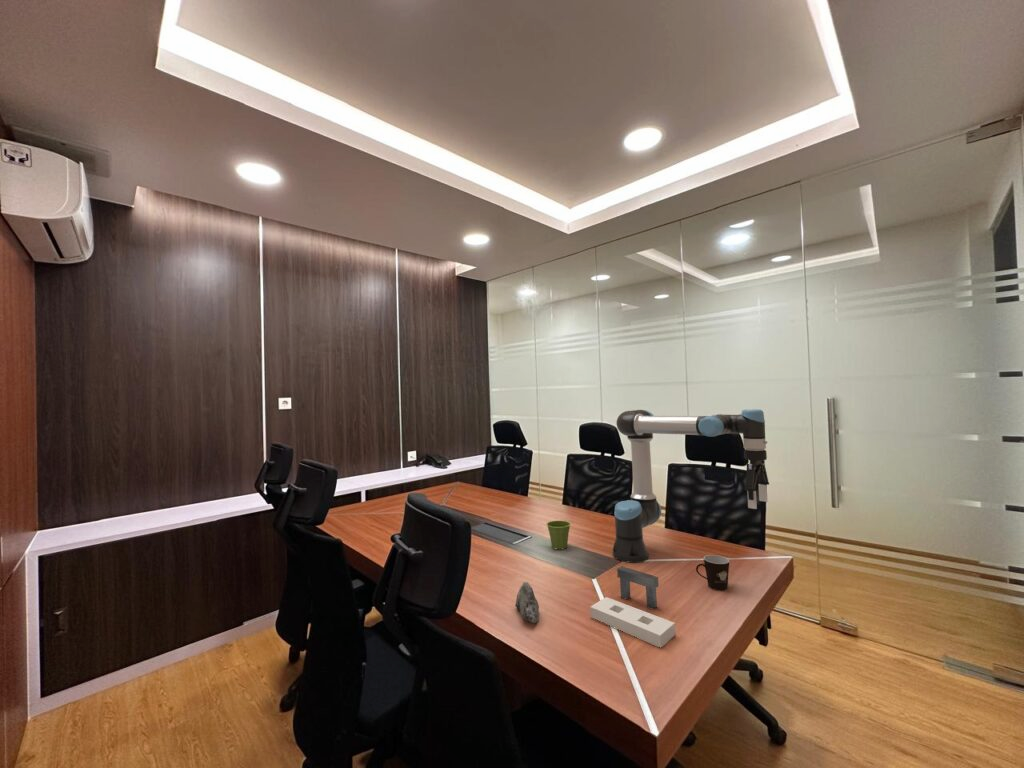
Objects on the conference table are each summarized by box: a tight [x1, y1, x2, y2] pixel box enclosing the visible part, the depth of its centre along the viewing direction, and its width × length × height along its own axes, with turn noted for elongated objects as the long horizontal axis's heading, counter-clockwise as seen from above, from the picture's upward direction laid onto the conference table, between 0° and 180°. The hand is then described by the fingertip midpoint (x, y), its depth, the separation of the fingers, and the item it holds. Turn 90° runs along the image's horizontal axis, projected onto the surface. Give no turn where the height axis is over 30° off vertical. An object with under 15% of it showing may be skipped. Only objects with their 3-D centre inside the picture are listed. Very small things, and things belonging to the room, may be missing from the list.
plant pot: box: [546, 520, 572, 550], centre depth 199 cm, size 12×12×11 cm
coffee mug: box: [695, 554, 730, 592], centre depth 153 cm, size 12×9×10 cm
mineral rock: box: [514, 581, 540, 624], centre depth 136 cm, size 13×11×10 cm
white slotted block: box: [589, 596, 676, 649], centre depth 128 cm, size 24×9×4 cm, turn 43°
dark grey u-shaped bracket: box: [616, 565, 659, 610], centre depth 143 cm, size 14×3×10 cm, turn 43°
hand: (758, 504), depth 159 cm, fingers open, 13 cm apart
